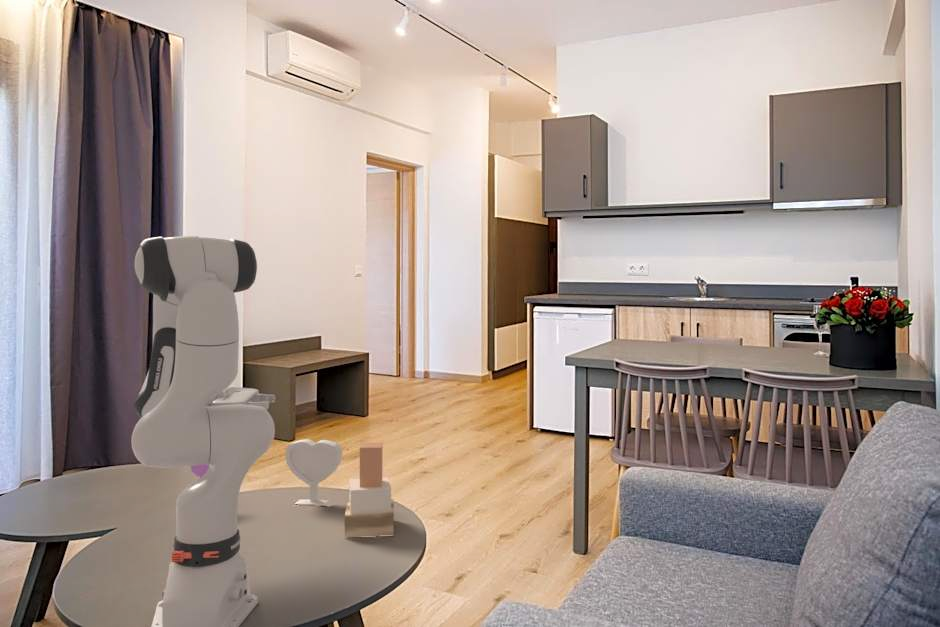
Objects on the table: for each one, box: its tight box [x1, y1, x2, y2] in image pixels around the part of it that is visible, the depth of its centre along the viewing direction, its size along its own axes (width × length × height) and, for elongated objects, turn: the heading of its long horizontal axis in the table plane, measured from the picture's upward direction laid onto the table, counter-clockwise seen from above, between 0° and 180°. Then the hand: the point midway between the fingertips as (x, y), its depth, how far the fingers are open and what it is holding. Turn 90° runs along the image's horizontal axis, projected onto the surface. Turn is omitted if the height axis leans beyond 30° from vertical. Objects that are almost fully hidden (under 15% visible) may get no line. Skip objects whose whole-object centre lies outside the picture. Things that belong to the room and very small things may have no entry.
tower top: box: [348, 476, 392, 514], centre depth 177 cm, size 10×10×6 cm
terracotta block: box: [359, 442, 383, 487], centre depth 177 cm, size 5×5×10 cm
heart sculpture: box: [284, 438, 343, 504], centre depth 198 cm, size 16×5×18 cm, turn 83°
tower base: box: [344, 498, 395, 538], centre depth 177 cm, size 12×12×6 cm
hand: (271, 402), depth 168 cm, fingers open, 8 cm apart
